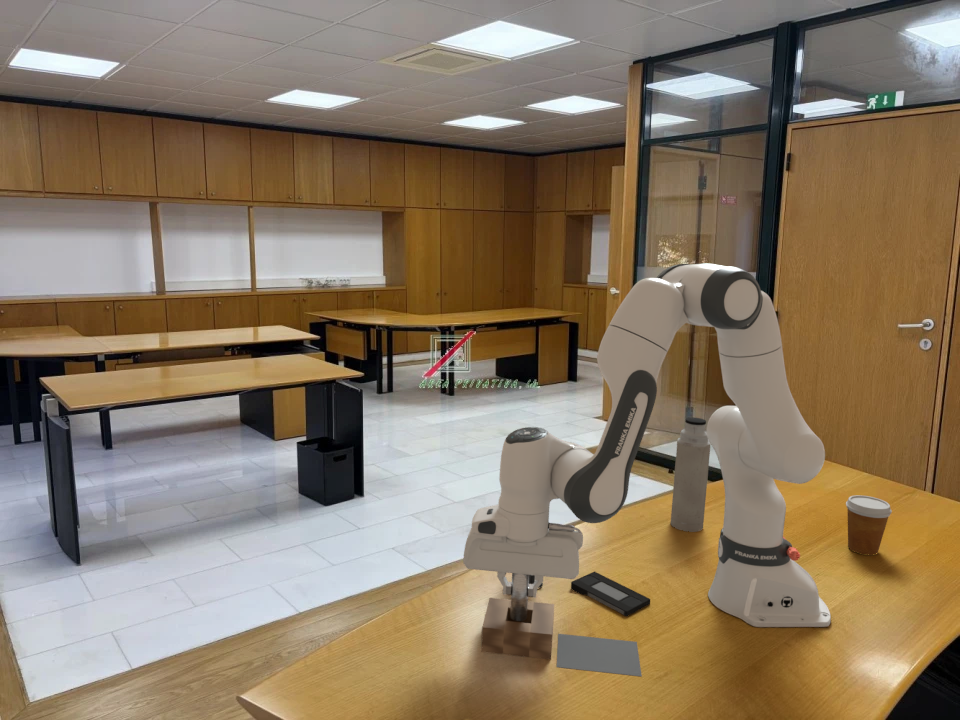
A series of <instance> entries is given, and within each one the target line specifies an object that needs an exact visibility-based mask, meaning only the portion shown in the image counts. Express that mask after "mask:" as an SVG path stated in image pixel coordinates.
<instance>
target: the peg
mask: <svg viewBox="0 0 960 720" xmlns="http://www.w3.org/2000/svg"><path fill="white" fill-rule="evenodd" d="M511 582H512V589H511V595H510V600H511V610H510V617H511V619H513V620H515V621H524V620H526V619H527V609H528V602H529V597H528V587H529V575H526V574H516V573H511Z"/></svg>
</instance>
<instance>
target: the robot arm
mask: <svg viewBox="0 0 960 720" xmlns="http://www.w3.org/2000/svg"><path fill="white" fill-rule="evenodd" d="M685 324H688V325H692V326H697V327H709V328H714V330H715V331H716V336H717V347H718V348H717V349H718V355H719V362H720V369H721V376H722V377H721V378H722V383H723V389H724V391H725V393H726V395H727V396H728V397H729V399H730V400H731V401H732V402H733V403H734V404H735V405H723V406H721V407H719V408H718V409H716V410H715V411H714V412H713V413H712V414H711V416H710V417H709V419H708V421H707V423H706V429H705V431H706V432H707V438H708V441H709V442H710V444H711V445H710V446H711V447H712V449H713V450H714V452H715V454H716V457H717V460H718V463H719V467H720V470H721V471H720V472H721V476H722V480H723V487H724V511H723V513H724V514H723V524H722V529H721V530H720V533H719V534H720V535H719V538H718V545H717V555H718V556H717V557H718V562H717V567H716V571H715V574H714V578H713V581H712V583H711V585H710V588H709V590H708V593H707V596H708V598H709V600H710V601H711V603H712V604H713V605H714V606H715V607H716V608H718V609H719V610H721V611H723V612H725V613H727V614H729V615H731V616H734V617H736V618H739V619H741V620H743V622H745V623H746V624H748V625H750V626H753V627H755V628H795V627H796V628H806V627H807V628H812V627H814V628H819V627H820V628H826V627H827V628H828V627H829V626H830V624H831V621H832V620H831V619H832V616H831V612H830V610H829V607H828V605H827V604H826V602H824V600H823V599H822V598H821V597H820V596H819V595H820V594H819V590H818V587H817V584H816V582H815V580H814V579H813V577H812V575H810V573H809V572H808V571H807V570H806V569H804V568H803V567H802V566H801V565H800V564H798V562H796V561H799V560H800V559H801V558H800V557H801V553H800V551H799V550H798V549H797V548H796V547H793V545H792V543H791V542H790V541H788V540H787V539H786V537H784V528H785V520H786V511H787V505H786V501H785V498H784V496H783V494H782V493H781V491H780V490H779V488H778V486H777V484H776V482H775V480H777V481H781V482H787V483H792V484H797V485H798V484H799V485H800V484H801V485H802V484H806V483H808V482H810V481H812V480H813V479H814V478H816V476H818V474H819V473H821V470H822V468H823V466H824V463H825V459H826V451H825V450H826V449H825V446H824V443H823V441H822V439H821V438H820V437H819V436H817V435H816V434H815V432H814V431H813V430H812V429H811V427H810V426H809V425H808V424H807V422H806V421H805V419H804V417H803V415H802V414H801V412H800V409H799V408H798V406H797V404H796V401H795V399H794V397H793V395H792V393H791V390H790V385H789V382H788V379H787V378H788V377H787V373H786V366H785V359H784V358H785V357H784V351H783V343H782V342H783V341H782V336H781V329H780V324H779V321H778V316H777V313H776V310H775V307H774V304H773V301H772V299H771V297H770V296H769V295H768V293H766V292H764V291H763V290H761V287H760V285H759V282H758V280H756V278H755V277H754V276H753V274H751V273H750V272H748V271H746V270H745V269H742V268H739V267H736V266H730V265H728V266H726V265H721V264H715V263H707V262H706V263H705V262H704V263H696V264H695V263H694V264H692V263H691V264H689V263H678V264H675V265H672V266H671V265H670V266H669V267H667V268H666V269H664V270H662V271H661V272H660V273H659V274H658V275H657V276H656V277H646V278H643V279H640V280H638V281H637V282H636V283H635V284H634V285H633V286H632V288H631V289H630V290H629V292H628V293H627V294H626V295H625V297H624V299H623V300H622V302H621V303H620V305H619V306H618V308H617V310H616V311H615V313H614V315H613V317H612V318H611V321H610V322H609V324H608V326H607V328H606V330H605V332H604V334H603V336H602V339H601V341H600V344H599V347H598V351H597V356H596V359H597V360H596V362H597V366H598V369H599V372H600V375H602V378H603V379H604V380H605V382H606V384H607V387H608V389H609V391H610V395H611V411H610V413H609V417H608V419H607V422H606V424H605V427H604V429H603V432H602V435H601V437H600V440H599V443H598V446H597V448H596V451H595V452H594V453H593V452H592V451H590V450H588V449H587V448H585V447H583V446H582V445H580V444H578V443H576V442H572V441H566V440H563V439H560V438H558V437H556V436H554V435H553V434H551V433H550V432H549V431H548V430H547V429H545V428H542V427H536V426H535V427H534V426H528V427H527V426H525V427H521V428H518V429H517V428H516V429H515V430H513V431H512V432H510V433H508V435H507V436H506V437H505V439H504V442H503V446H502V450H501V454H500V464H499V477H498V479H499V484H500V495H499V498H498V503H497V504H494V505H490V506H484V507H481V508H478V509H477V510H476V511H475V513H474V514H473V517H472V521H471V528H470V530H469V533H468V534H467V537H466V541H465V545H464V551H463V559H462V561H463V562H462V563H463V565H464V566H465V567H466V569H467V570H477V571H484V572H485V571H488V572H497V575H496V577H497V579H498V581H499V582H500V584H501V586H502V595H505V596H511V589H512V581H508V579H507V577H506V575H507V573H508V574H512V573H516V574H526V575H535V580H536V581H535V582H534V584H529V587H528V598H535V599H536V598H537V592H538V589H539V588H538V587H539V586H540V585H541V583H543V582H544V577H548V578H558V579H569V580H575V579H576V578H577V577H578V576H579V575H580V574H579V573H580V554H579V552H580V551H579V550H580V549H581V548H582V547H583V542H584V535H583V532H582V531H581V530H580V528H577V527H576V526H575V525H573V524H562V523H555V522H550V504H551V502H552V500H558V499H559V500H561V501H562V502H563V503H564V504H565V505H566V506H567V507H568V509H569V511H571V512H572V513H573V515H574V516H575V517H576V518H577V519H579V520H580V521H582V522H584V523H586V524H587V523H588V524H601V523H602V522H605V521H608V520H609V519H611V518H613V517H614V516H616V515H617V513H619V511H620V510H621V509H622V508H623V507H624V505H625V502H626V499H627V497H628V493H629V492H628V491H629V485H630V484H629V483H630V478H631V472H632V469H633V465H634V462H635V459H636V456H637V454H638V451H639V448H640V445H641V443H642V440H643V438H644V434H645V432H646V429H647V427H648V425H649V421H650V418H651V415H652V412H653V410H654V406H655V403H656V399H657V391H658V390H657V389H658V386H657V385H658V378H659V374H660V370H661V368H662V365H663V363H664V360H665V358H666V356H667V354H668V351H669V350H670V347H671V345H672V343H673V341H674V339H675V337H676V334H677V332H678V331H679V330H680V329H681V328H682V327H683V326H684V325H685Z"/></svg>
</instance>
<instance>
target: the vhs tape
mask: <svg viewBox="0 0 960 720" xmlns="http://www.w3.org/2000/svg"><path fill="white" fill-rule="evenodd" d="M570 590H572V591H573V590H574V593H577V594H579V595H583V596H586V597H587V596H588V597H590V598H591V599H593V600H594V601H597V602H598V603H600V604H602V605H605V606H606V607H608V608H610V609H612V610H614V611H616V612H617V613H619V614H621V615H623V616H624V617H629V616H630V615H632V614H634V613H637V611H640V610H642V609H643V608H645V607H648V606H650V604H651V598H649V597H647V596H645V595H643V594H641V593H639V592H637V591H635V590H633V589H630V588H629V587H627V586H625V585H623V584H621V583H619V582H617V581H615V580H613V579H610V578H609V577H607V576H605V575H603V574H601V573H598V572H597V571H593V572H590V573H587V574H586V575H583V576H581V577H580V578H577V579H576V578H575V579H573V581H571V582H570Z"/></svg>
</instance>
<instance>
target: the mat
mask: <svg viewBox="0 0 960 720" xmlns="http://www.w3.org/2000/svg"><path fill="white" fill-rule="evenodd" d="M556 649H557V651H556V652H557V653H556V668H558V669H559V668H561V669H571V670H579V671H588V672H597V673H606V674H614V675H615V674H616V675H623V676H634V677H643V676H642V668H641V663H640V655H639V646H638V642H637V641H632V640H621V639H612V638H603V637H595V636H593V637H592V636H585V635H584V636H583V635H574V634H566V633H558V634H557V648H556Z"/></svg>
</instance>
